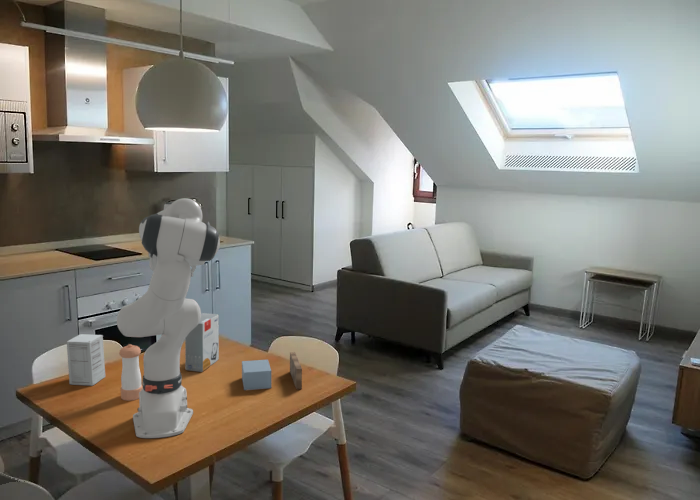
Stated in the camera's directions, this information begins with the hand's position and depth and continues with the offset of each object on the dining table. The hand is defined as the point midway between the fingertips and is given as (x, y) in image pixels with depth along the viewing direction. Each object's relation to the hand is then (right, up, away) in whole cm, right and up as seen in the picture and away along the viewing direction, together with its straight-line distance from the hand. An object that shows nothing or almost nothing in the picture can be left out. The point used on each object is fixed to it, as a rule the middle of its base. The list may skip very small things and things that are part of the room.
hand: (178, 278), depth 214 cm
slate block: (+30, -40, 0) cm, 50 cm away
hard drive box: (+5, -37, +17) cm, 41 cm away
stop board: (+44, -40, +3) cm, 60 cm away
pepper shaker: (-12, -41, -15) cm, 46 cm away
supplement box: (-34, -39, -2) cm, 52 cm away
